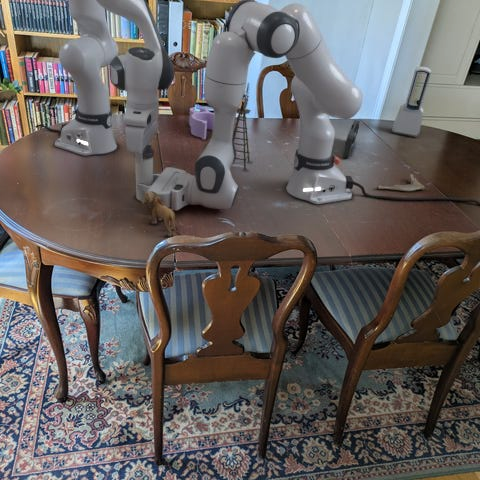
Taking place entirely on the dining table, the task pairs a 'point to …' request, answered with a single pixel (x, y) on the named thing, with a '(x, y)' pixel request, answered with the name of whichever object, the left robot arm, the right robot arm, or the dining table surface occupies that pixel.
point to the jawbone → (405, 186)
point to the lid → (147, 153)
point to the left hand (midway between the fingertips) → (143, 156)
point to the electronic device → (411, 110)
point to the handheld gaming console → (351, 139)
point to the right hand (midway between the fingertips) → (141, 181)
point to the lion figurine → (159, 210)
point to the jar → (143, 175)
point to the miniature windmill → (244, 112)
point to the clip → (201, 122)
